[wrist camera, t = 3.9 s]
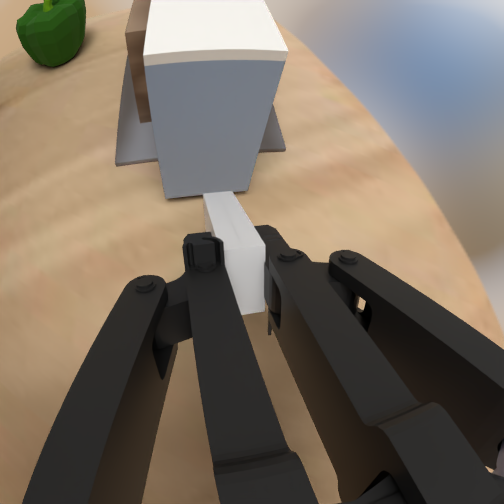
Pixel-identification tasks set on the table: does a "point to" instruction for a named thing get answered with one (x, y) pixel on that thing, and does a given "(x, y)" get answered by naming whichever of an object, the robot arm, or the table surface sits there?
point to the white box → (210, 90)
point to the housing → (137, 102)
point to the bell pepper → (53, 30)
